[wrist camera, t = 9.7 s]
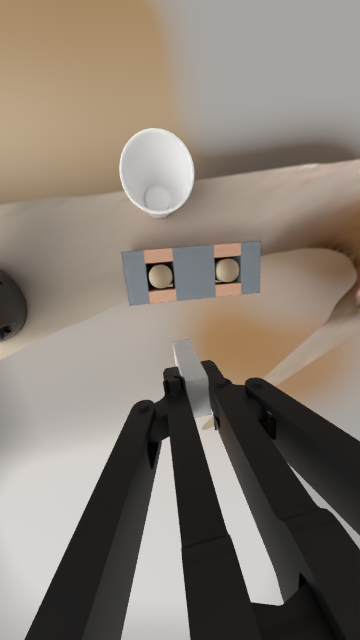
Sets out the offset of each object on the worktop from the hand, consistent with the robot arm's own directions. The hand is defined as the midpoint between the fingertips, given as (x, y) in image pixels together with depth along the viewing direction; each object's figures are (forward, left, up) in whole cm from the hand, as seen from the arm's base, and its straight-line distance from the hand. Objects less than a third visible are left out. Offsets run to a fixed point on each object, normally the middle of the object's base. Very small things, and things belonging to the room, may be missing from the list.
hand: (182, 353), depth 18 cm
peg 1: (-1, +7, -24) cm, 25 cm away
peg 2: (+11, +7, -24) cm, 27 cm away
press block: (+5, +7, -24) cm, 26 cm away
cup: (0, +20, -25) cm, 32 cm away
